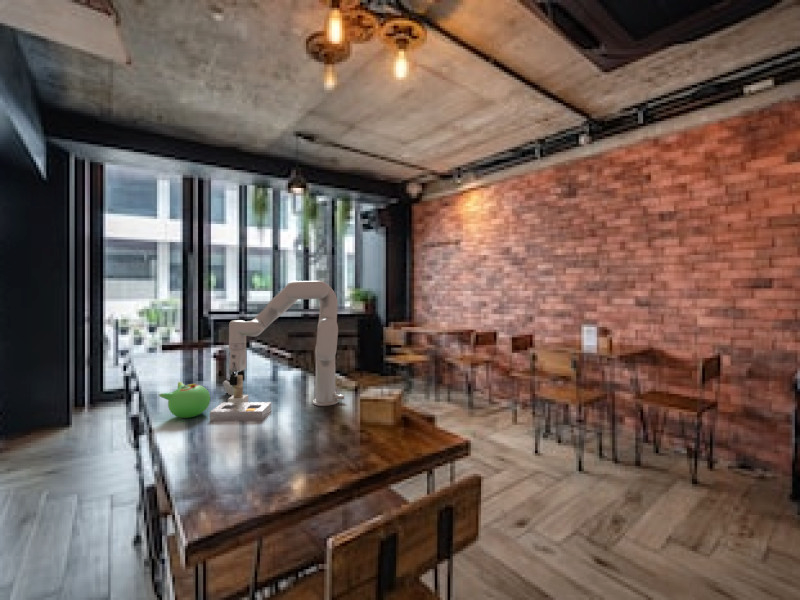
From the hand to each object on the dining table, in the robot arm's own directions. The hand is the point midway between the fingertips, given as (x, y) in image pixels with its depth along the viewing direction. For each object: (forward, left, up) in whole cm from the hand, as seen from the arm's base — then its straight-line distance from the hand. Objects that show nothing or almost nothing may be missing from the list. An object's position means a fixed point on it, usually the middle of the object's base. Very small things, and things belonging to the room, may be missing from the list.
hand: (237, 382), depth 196 cm
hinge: (+9, -21, -12) cm, 26 cm away
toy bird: (+17, +13, -12) cm, 24 cm away
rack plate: (-6, +13, -12) cm, 19 cm away
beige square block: (0, 0, -12) cm, 12 cm away
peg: (0, 0, -7) cm, 7 cm away
